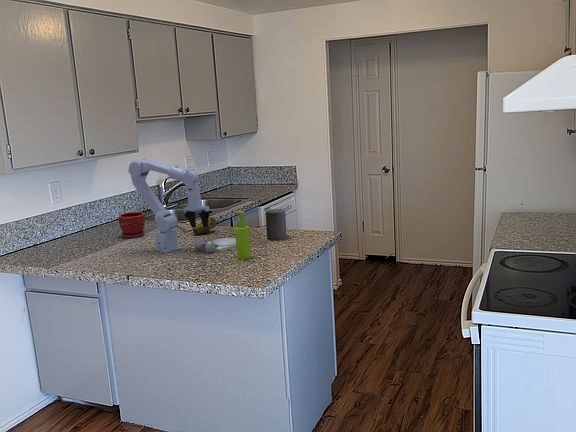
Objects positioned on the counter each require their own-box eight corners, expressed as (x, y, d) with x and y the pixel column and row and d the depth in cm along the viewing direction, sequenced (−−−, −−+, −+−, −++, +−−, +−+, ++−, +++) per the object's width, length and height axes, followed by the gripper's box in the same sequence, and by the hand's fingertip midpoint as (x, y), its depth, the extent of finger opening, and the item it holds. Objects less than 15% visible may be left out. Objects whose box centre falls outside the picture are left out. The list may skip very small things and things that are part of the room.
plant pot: (116, 239, 287) (113, 216, 285) (129, 233, 300) (126, 211, 298) (139, 239, 284) (136, 216, 282) (151, 233, 297) (148, 211, 295)
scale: (219, 251, 248) (218, 246, 247) (199, 247, 259) (198, 242, 258) (247, 243, 259) (246, 239, 259) (227, 240, 270) (226, 235, 269)
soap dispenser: (242, 254, 240) (238, 209, 236) (254, 256, 236) (250, 210, 232) (232, 258, 236) (228, 211, 232) (244, 260, 231) (240, 213, 228)
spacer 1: (198, 251, 251) (197, 240, 250) (193, 250, 253) (192, 239, 252) (205, 249, 253) (204, 239, 252) (200, 248, 256) (199, 238, 255)
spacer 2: (209, 254, 245) (208, 243, 244) (203, 252, 248) (202, 242, 247) (216, 252, 248) (215, 241, 247) (211, 251, 250) (210, 240, 250)
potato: (191, 233, 290) (189, 218, 289) (215, 230, 294) (214, 215, 293) (194, 236, 282) (192, 221, 281) (219, 233, 287) (217, 217, 285)
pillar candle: (264, 240, 264) (262, 209, 261) (270, 235, 273) (268, 205, 270) (283, 241, 261) (281, 209, 258) (289, 236, 270) (288, 205, 267)
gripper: (176, 200, 251) (182, 229, 253) (199, 198, 242) (204, 229, 245) (188, 197, 257) (193, 225, 259) (210, 195, 248) (215, 225, 250)
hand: (199, 227), depth 252 cm, fingers open, 7 cm apart
